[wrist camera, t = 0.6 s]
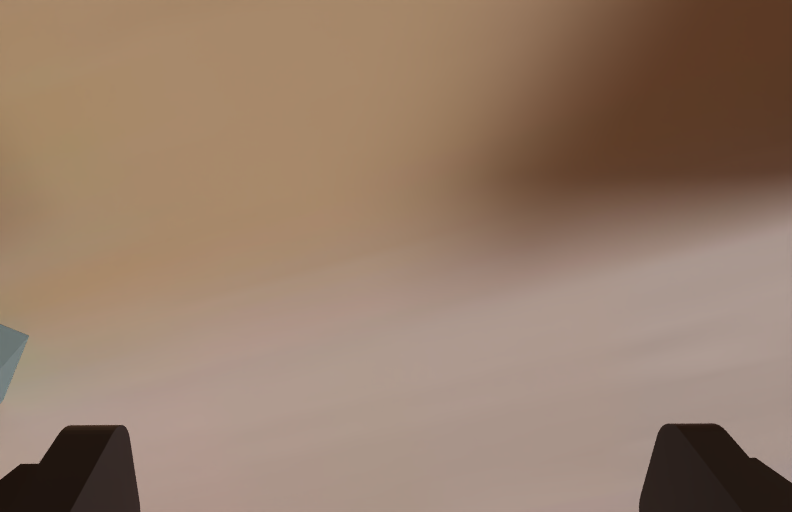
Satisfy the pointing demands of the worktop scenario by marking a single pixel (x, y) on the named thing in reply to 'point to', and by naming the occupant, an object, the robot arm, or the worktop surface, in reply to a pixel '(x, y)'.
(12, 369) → the post
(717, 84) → the worktop surface
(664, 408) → the worktop surface
